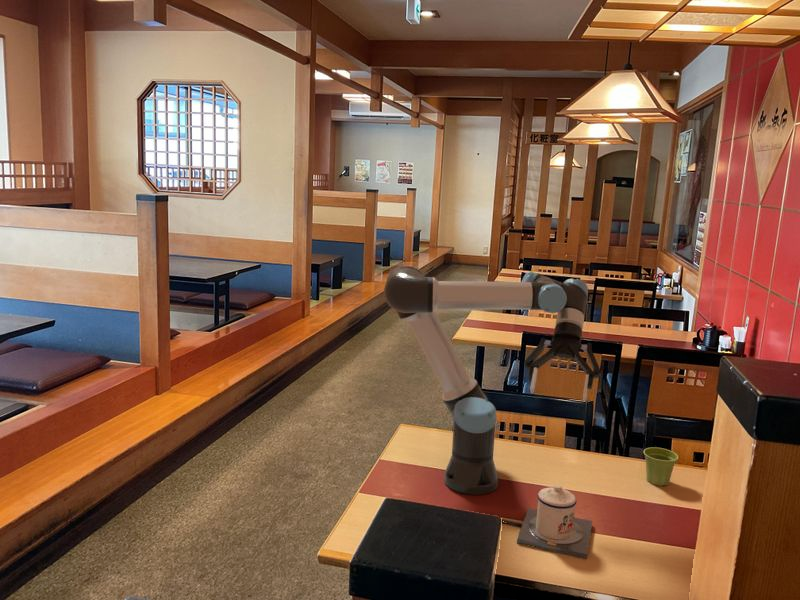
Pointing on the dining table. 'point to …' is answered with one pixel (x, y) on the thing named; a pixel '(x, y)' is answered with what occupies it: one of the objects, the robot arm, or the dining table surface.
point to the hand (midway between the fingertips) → (557, 394)
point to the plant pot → (659, 465)
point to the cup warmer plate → (569, 546)
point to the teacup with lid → (555, 513)
